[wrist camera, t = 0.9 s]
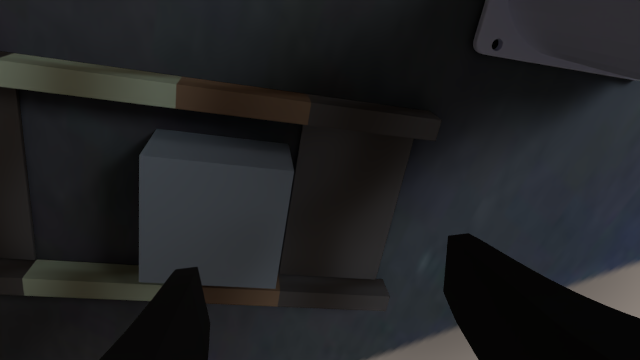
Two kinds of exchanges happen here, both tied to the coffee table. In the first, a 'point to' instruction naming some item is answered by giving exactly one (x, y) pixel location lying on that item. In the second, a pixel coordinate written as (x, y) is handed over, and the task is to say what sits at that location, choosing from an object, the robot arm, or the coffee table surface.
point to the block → (213, 208)
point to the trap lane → (306, 198)
